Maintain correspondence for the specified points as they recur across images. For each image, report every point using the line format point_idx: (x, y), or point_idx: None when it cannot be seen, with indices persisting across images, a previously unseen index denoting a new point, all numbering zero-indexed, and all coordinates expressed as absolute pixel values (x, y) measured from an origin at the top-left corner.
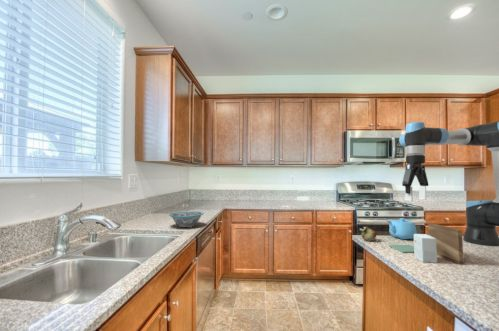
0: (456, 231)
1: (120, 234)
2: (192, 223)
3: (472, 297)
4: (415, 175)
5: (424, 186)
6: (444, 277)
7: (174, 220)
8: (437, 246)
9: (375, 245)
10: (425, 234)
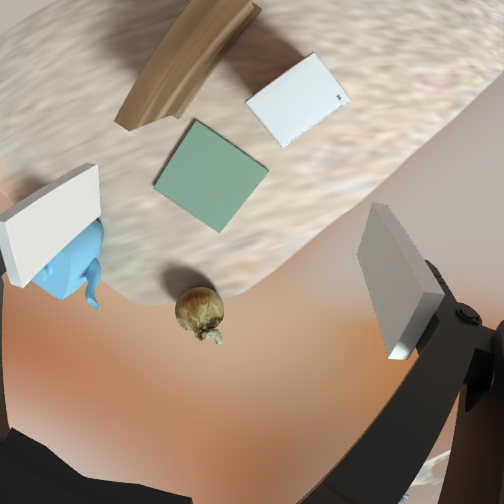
0: None
1: None
2: None
3: (492, 3)
4: (321, 481)
5: (10, 228)
6: (425, 36)
7: None
8: (192, 79)
9: (247, 264)
10: (257, 104)
